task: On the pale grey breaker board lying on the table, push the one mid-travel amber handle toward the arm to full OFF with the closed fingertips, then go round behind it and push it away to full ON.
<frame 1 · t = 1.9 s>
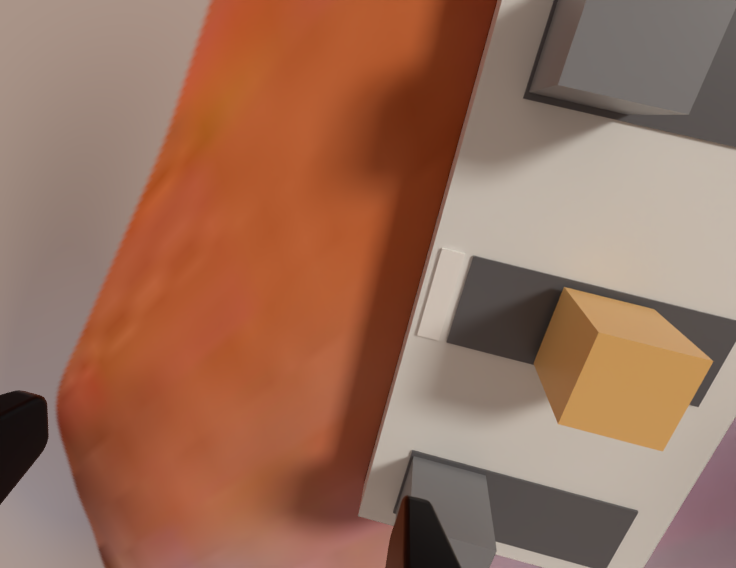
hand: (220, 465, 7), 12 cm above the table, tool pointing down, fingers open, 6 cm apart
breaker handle: (609, 362, 14), point 4 cm above the table, slide at 3.0 cm
breaker panel: (572, 310, 18), on the table
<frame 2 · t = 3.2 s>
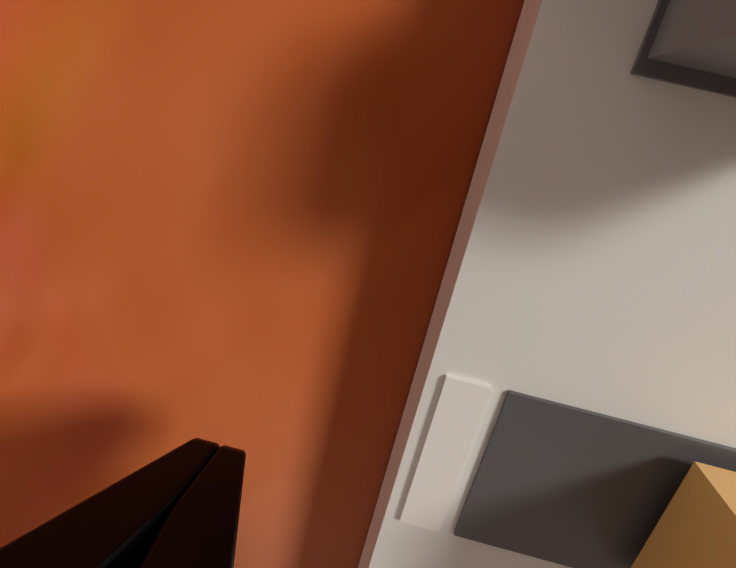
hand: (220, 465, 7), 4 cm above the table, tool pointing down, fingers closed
breaker panel: (674, 456, 10), on the table
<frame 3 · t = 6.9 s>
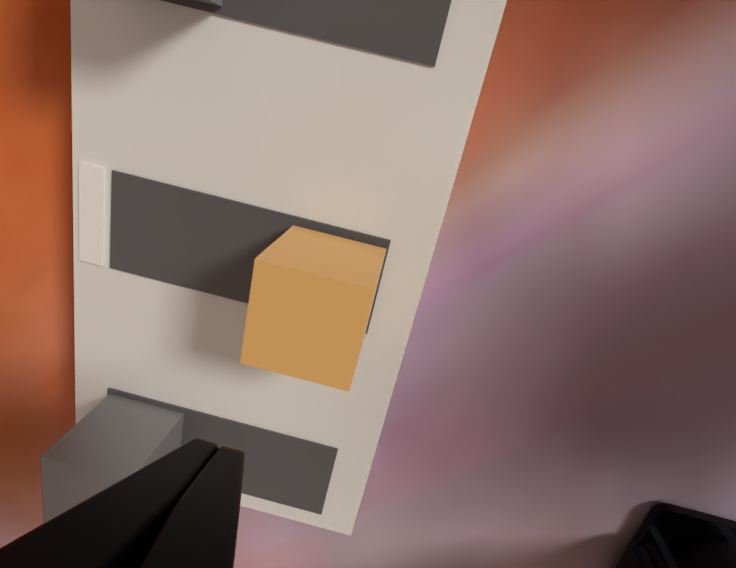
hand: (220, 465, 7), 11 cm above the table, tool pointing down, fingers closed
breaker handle: (318, 301, 13), point 4 cm above the table, slide at 0.0 cm
breaker panel: (264, 238, 17), on the table
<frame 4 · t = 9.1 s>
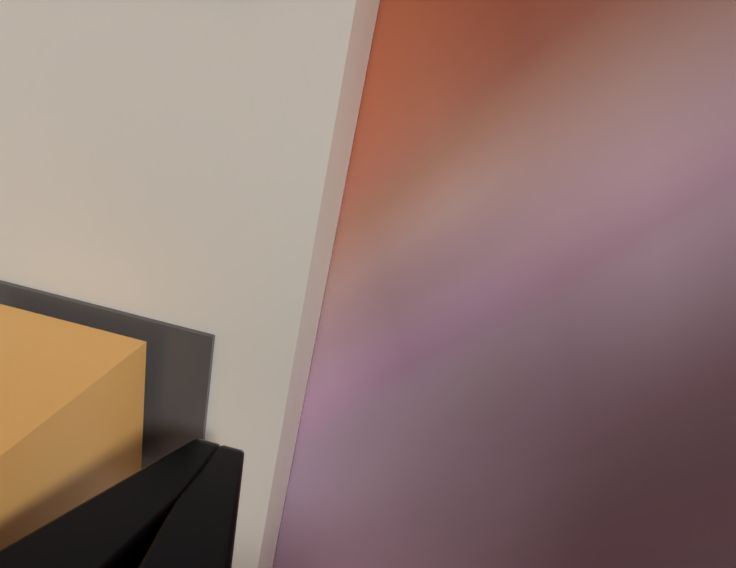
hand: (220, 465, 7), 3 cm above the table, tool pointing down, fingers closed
breaker panel: (54, 312, 11), on the table
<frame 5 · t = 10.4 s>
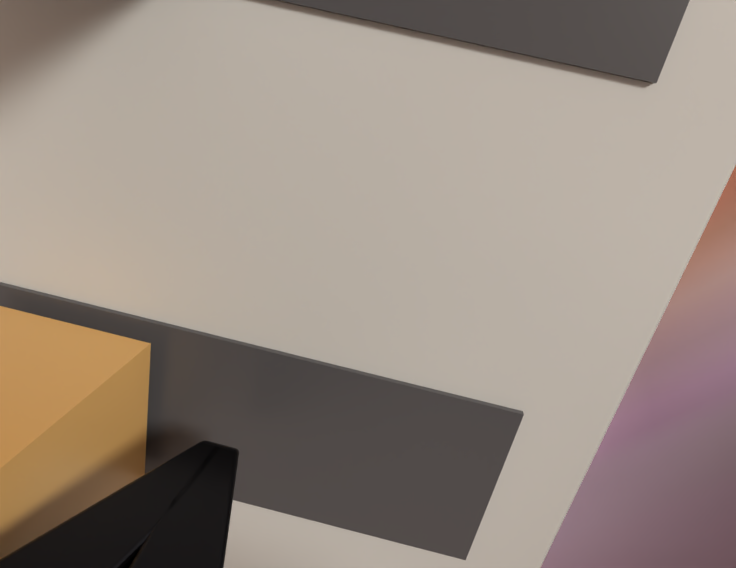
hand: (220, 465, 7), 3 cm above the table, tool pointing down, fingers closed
breaker panel: (276, 369, 10), on the table
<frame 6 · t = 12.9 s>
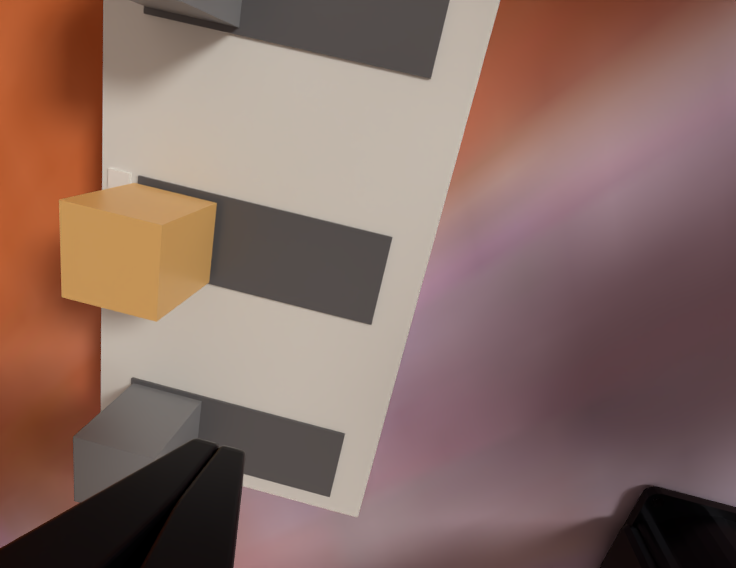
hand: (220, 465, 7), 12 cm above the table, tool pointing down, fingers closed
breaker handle: (144, 246, 15), point 4 cm above the table, slide at 6.0 cm
breaker panel: (275, 237, 19), on the table
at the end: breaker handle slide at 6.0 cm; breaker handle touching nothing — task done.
